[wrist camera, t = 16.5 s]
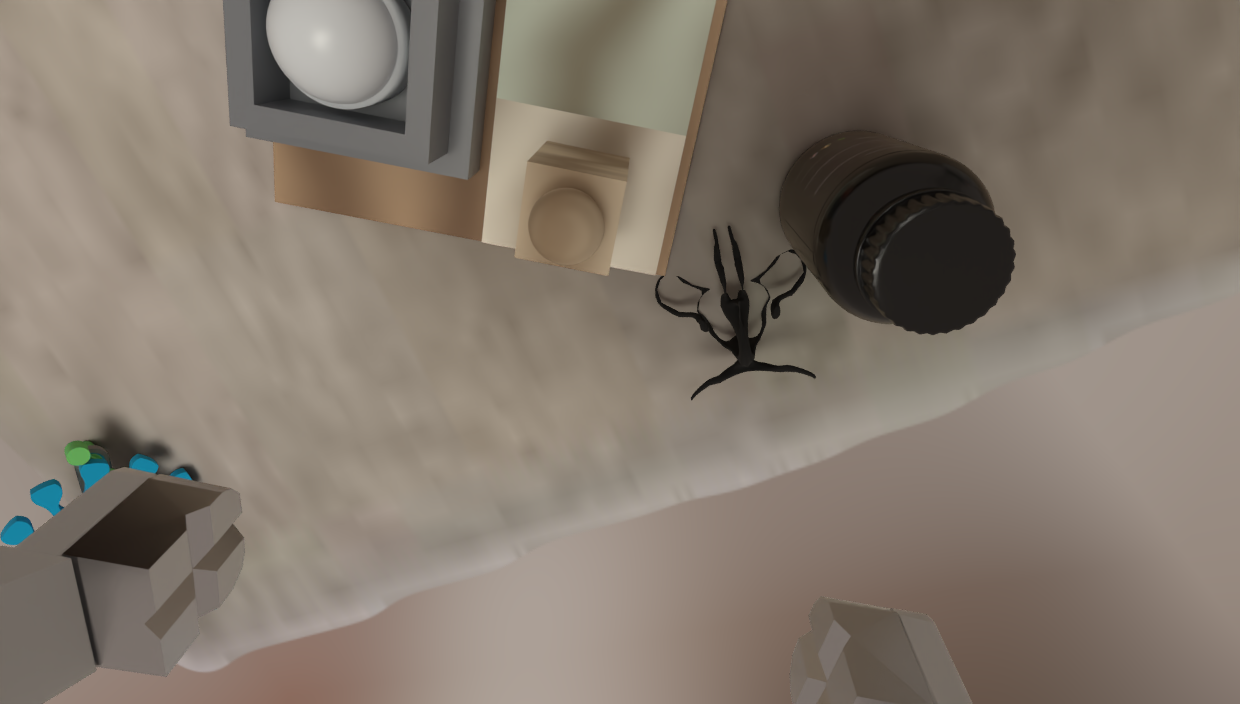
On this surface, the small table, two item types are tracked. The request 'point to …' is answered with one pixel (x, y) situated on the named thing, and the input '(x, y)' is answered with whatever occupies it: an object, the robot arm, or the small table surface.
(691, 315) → the creature
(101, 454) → the blue lobed plastic figure
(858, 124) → the small table surface
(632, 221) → the board
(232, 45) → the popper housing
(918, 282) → the supplement bottle
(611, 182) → the pawn
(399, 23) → the dome
